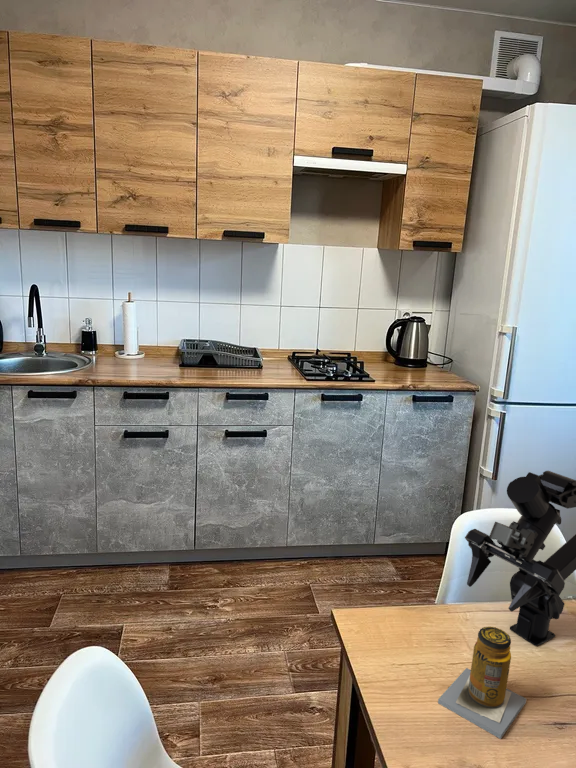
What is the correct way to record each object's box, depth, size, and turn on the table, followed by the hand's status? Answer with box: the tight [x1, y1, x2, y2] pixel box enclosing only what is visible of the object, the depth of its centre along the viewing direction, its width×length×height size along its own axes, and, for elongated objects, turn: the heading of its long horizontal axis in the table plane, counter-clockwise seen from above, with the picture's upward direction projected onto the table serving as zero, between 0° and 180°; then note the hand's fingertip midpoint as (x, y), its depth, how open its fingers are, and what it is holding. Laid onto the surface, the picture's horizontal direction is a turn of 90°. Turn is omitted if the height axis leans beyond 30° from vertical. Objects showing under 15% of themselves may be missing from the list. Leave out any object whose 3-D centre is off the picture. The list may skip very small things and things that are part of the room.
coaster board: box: [437, 667, 527, 740], centre depth 102 cm, size 11×11×1 cm
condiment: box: [456, 626, 512, 723], centre depth 100 cm, size 7×8×12 cm
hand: (488, 597), depth 109 cm, fingers open, 9 cm apart
